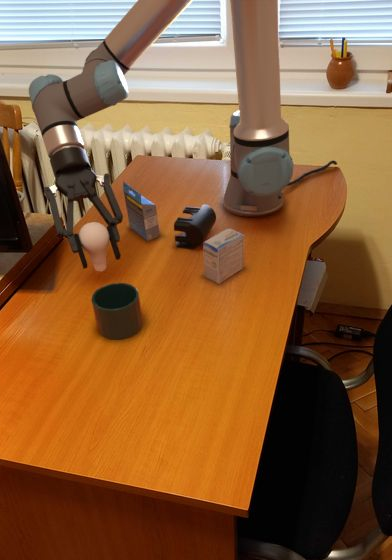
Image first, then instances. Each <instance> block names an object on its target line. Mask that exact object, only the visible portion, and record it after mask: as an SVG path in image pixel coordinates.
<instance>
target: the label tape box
mask: <svg viewBox="0 0 392 560" xmlns="http://www.w3.org/2000/svg"><path fill="white" fill-rule="evenodd" d="M122 183H123V184H122V186H123V187H122V189H123V195H124V201H125V207H126V213H127V218H128V224H129V228H130V229H131V230H132V231H134V232H135V233H136V234H137V235H139V236H140V237H142V239H144V240H146V241H147V242H150V241H153V240H155V239H157V238H159V237H161V233H160V232H161V231H160V225H159V217H158V211H157V205H156V204H155V203H153V202H152V201H150V200H149V199H147V198H146V197H145V196H143V195H142V193H141V192H139V191H138V190H136V189H135V188H134V187H133V186H131V185H130V184H128V183H127V182H126V181H124V180H122Z"/></svg>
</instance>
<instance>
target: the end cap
mask: <svg viewBox="0 0 392 560" xmlns="http://www.w3.org/2000/svg"><path fill="white" fill-rule="evenodd" d="M182 214H187V215H191V216H190V217H189V216H188V217H181V216H179V217H177V218H176V220H175V221H174V223H173V231H174V232H182V234H180V233H179V234H174V241H175V242H176V244H175V246H176V248H179V249H185V250H196V249H197V248H199V247H200V246H201V245H203V243H204V242H205V241H206V238H207V236H208V235H209V233H210V232H211V230H212V229H213V227H214V225H215V224H216V222H217V214H216V212H215V210H214V209H213V208H212V207H211V206H210V205H208V204H205V203H203V204H202V205H201V207H196V206H185V207H184V209H183V210H182Z"/></svg>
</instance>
